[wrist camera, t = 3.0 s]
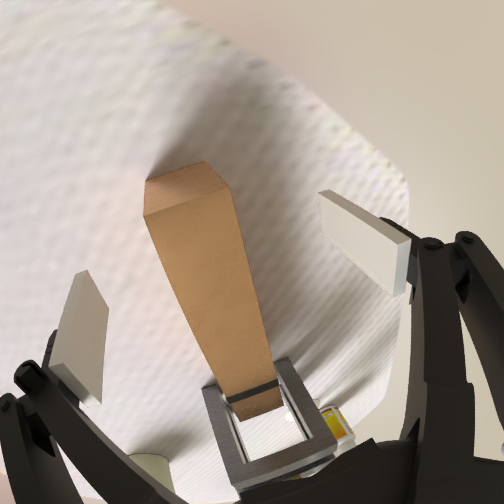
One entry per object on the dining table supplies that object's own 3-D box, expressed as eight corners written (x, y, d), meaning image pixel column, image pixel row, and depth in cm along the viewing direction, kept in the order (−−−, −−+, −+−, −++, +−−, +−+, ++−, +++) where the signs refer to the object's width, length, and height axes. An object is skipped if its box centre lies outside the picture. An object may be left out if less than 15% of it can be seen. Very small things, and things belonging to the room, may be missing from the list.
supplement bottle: (305, 422, 50) (328, 463, 41) (321, 405, 48) (347, 448, 40) (325, 419, 52) (348, 457, 44) (341, 403, 51) (367, 442, 42)
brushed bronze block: (144, 180, 22) (142, 216, 15) (205, 160, 23) (230, 187, 16) (221, 369, 35) (239, 422, 28) (259, 355, 36) (284, 405, 29)
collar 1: (201, 388, 35) (231, 484, 24) (287, 356, 38) (338, 442, 26) (208, 399, 37) (238, 489, 25) (290, 369, 39) (336, 450, 27)
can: (161, 450, 41) (174, 510, 31) (174, 467, 46) (187, 519, 36) (112, 455, 39) (120, 514, 29) (130, 472, 43) (140, 523, 33)
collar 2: (214, 409, 39) (245, 497, 26) (292, 380, 41) (338, 461, 29) (220, 417, 40) (250, 501, 28) (293, 390, 42) (336, 466, 30)
